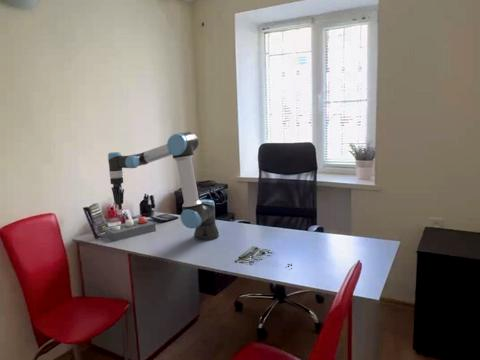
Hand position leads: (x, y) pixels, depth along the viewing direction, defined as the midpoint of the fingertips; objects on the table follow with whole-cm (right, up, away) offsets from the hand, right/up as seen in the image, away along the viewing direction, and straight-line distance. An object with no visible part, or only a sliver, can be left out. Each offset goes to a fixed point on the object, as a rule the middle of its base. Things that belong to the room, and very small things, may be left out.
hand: (119, 214), depth 236 cm
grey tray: (+5, -13, +7) cm, 15 cm away
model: (+91, -20, -43) cm, 103 cm away
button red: (+11, -8, +12) cm, 18 cm away
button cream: (+4, -9, +6) cm, 12 cm away
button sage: (-2, -12, 0) cm, 13 cm away
